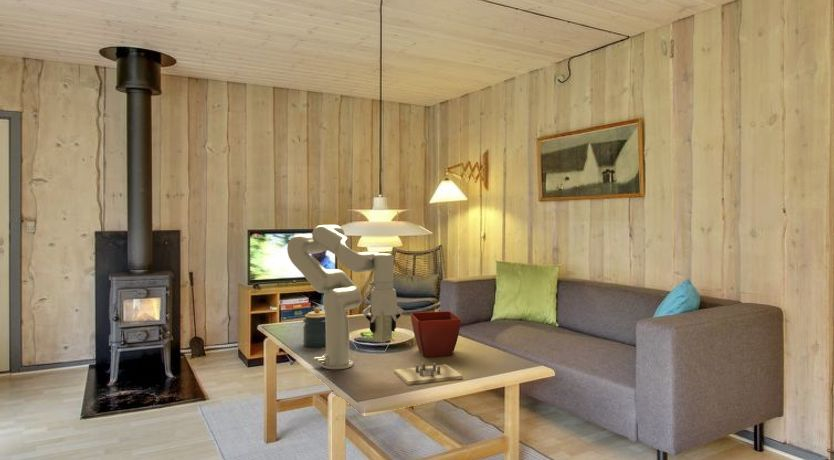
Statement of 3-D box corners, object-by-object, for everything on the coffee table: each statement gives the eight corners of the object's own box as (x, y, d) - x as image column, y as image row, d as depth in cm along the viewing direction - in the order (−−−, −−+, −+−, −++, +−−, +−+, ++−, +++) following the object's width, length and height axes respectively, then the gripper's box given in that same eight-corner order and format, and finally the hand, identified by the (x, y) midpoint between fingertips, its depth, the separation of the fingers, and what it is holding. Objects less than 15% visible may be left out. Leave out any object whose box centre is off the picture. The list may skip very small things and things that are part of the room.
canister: (298, 344, 255) (298, 307, 255) (323, 340, 263) (322, 304, 263) (310, 349, 245) (310, 311, 244) (335, 345, 253) (335, 308, 252)
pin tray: (407, 384, 194) (407, 374, 194) (394, 372, 209) (394, 363, 209) (462, 378, 202) (462, 368, 202) (446, 367, 217) (446, 358, 217)
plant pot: (418, 360, 228) (418, 320, 227) (410, 348, 247) (410, 312, 246) (461, 357, 232) (461, 319, 231) (450, 347, 250) (450, 311, 250)
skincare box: (383, 337, 210) (384, 306, 209) (392, 339, 207) (392, 308, 206) (372, 340, 205) (373, 308, 204) (381, 342, 202) (381, 310, 201)
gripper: (363, 287, 198) (363, 335, 199) (408, 286, 204) (407, 332, 205) (358, 285, 205) (358, 330, 206) (401, 283, 211) (401, 328, 212)
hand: (382, 331), depth 206 cm, fingers closed on skincare box, 7 cm apart
